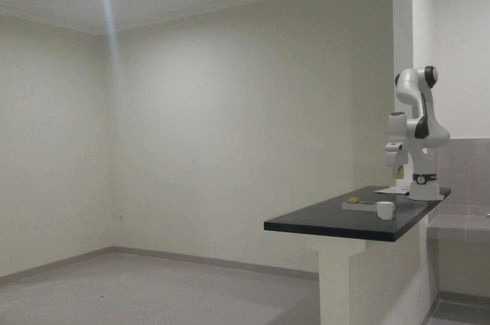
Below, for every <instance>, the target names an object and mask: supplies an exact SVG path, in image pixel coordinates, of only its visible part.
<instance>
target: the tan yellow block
mask: <svg viewBox="0 0 490 325" xmlns="http://www.w3.org/2000/svg"><path fill="white" fill-rule="evenodd" d="M398 172H399V175H398V176H394V172H393V171H392V180H403V179H405V168H404V167H403V168H399V167H398Z"/></svg>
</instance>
